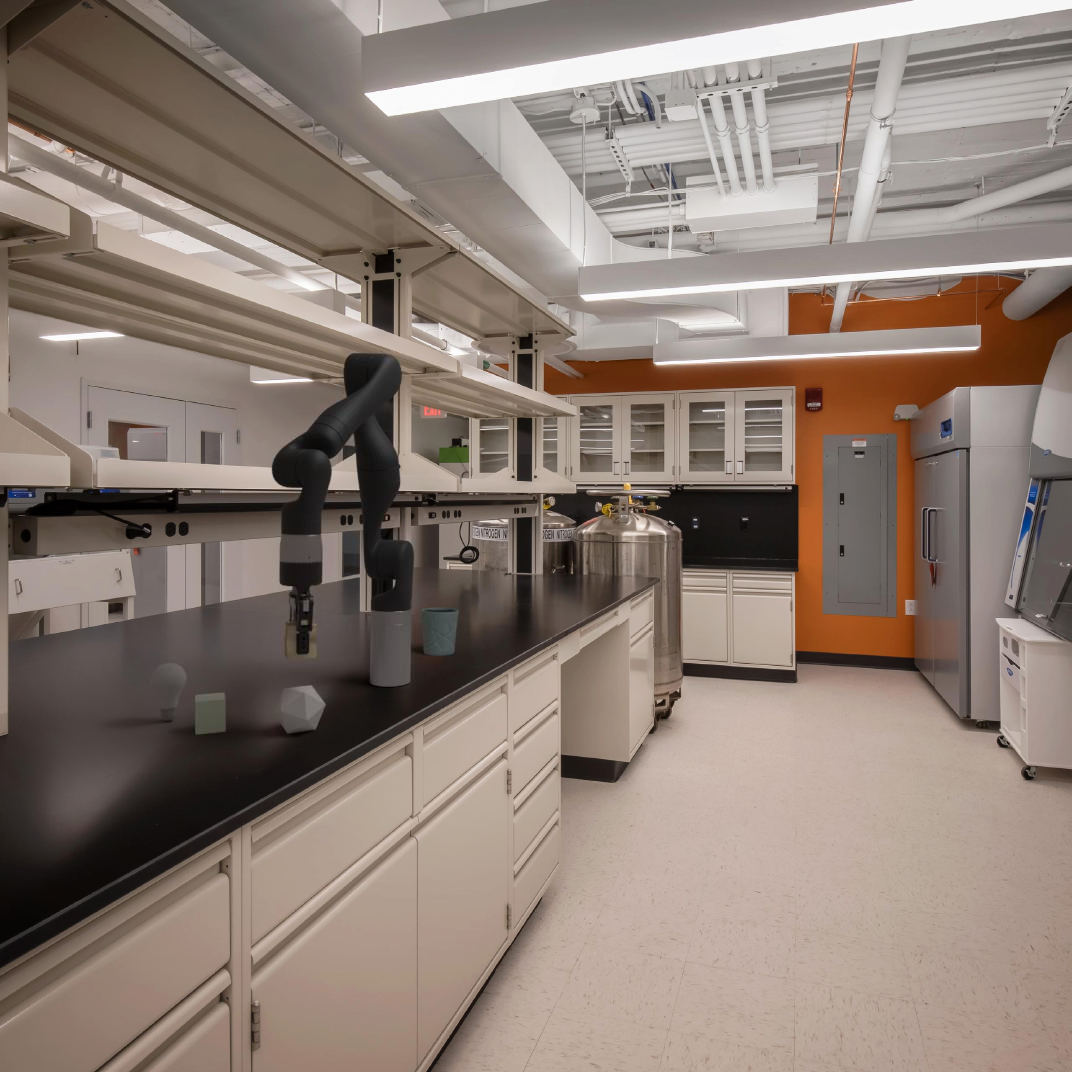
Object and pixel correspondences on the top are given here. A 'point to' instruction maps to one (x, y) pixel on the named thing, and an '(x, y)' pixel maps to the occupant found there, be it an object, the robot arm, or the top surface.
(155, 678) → the lightbulb
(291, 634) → the maple block
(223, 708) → the sage block
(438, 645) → the teal plant pot
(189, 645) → the top surface
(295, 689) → the die
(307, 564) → the robot arm
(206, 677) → the top surface
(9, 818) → the top surface
